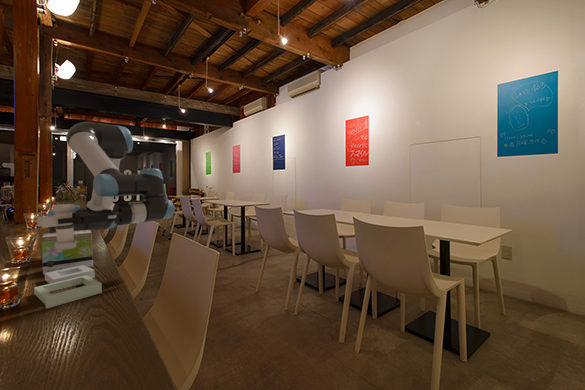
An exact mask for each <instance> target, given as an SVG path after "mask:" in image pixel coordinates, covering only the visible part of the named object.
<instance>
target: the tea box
mask: <svg viewBox="0 0 585 390" xmlns="http://www.w3.org/2000/svg"><path fill="white" fill-rule="evenodd" d="M74 240H76V245H77V247H75V248H72V249H66V250H55V242H57V238H56V233H48V232H47V233H43V234H42V236H41V259H42V263H41V265H42V275H44V276H45V273H48V272H52V271H57V270H62V269H66V268H71V267H76V266H81V265H85V266H87V267H89V268H92V267H94V253H93V252H94V251H93V232H92V231H90V230H82V231H74Z"/></svg>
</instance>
